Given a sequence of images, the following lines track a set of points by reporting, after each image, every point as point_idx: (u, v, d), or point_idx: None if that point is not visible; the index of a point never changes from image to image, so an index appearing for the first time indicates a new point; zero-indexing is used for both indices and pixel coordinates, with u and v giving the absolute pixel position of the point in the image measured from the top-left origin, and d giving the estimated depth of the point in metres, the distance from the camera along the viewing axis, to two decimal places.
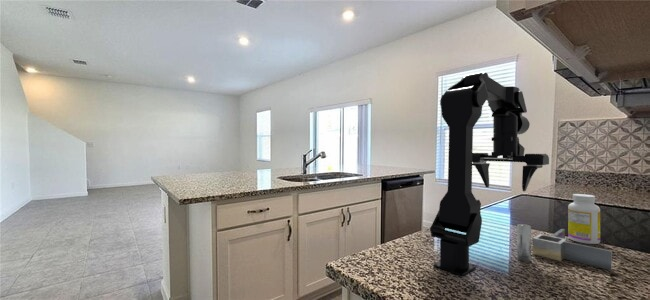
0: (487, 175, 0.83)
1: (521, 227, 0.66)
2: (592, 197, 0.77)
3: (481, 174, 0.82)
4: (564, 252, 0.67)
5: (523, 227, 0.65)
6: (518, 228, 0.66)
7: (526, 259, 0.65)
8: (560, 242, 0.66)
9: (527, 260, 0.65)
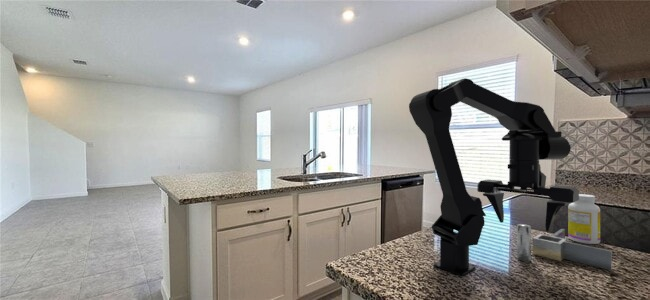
0: (501, 208, 0.70)
1: (521, 227, 0.66)
2: (592, 197, 0.77)
3: (494, 207, 0.69)
4: (564, 252, 0.67)
5: (523, 227, 0.65)
6: (518, 228, 0.66)
7: (526, 259, 0.65)
8: (560, 242, 0.66)
9: (527, 260, 0.65)
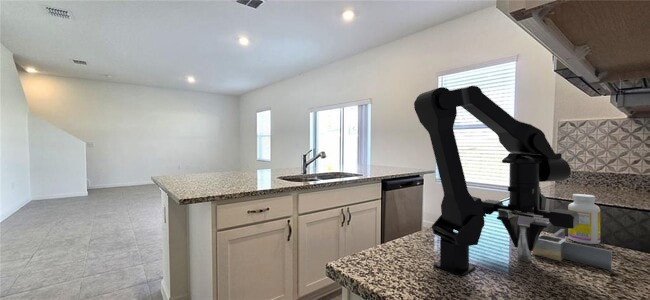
0: (516, 232, 0.68)
1: (521, 227, 0.66)
2: (592, 197, 0.77)
3: (509, 231, 0.67)
4: (564, 252, 0.67)
5: (523, 227, 0.65)
6: (518, 228, 0.66)
7: (526, 259, 0.65)
8: (560, 242, 0.66)
9: (527, 260, 0.65)
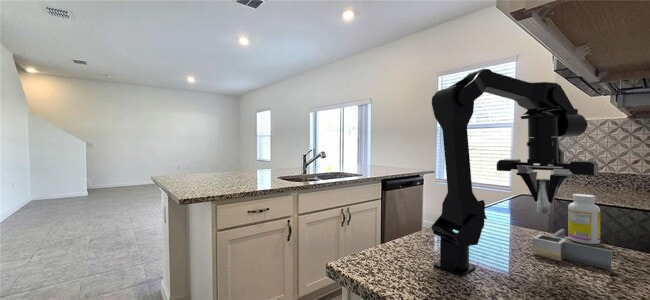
0: (535, 187, 0.69)
1: (541, 180, 0.67)
2: (592, 197, 0.77)
3: (529, 186, 0.69)
4: (564, 252, 0.67)
5: (543, 180, 0.67)
6: (538, 182, 0.68)
7: (546, 211, 0.67)
8: (560, 242, 0.66)
9: (547, 212, 0.67)
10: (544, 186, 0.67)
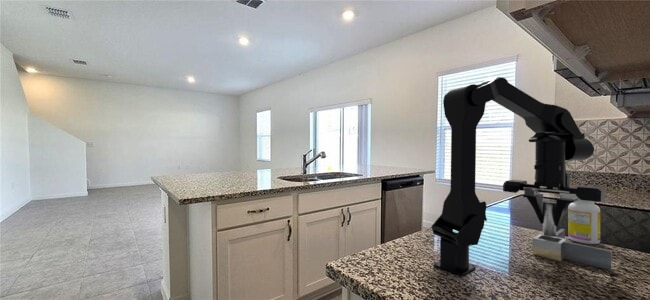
0: (541, 209, 0.70)
1: (547, 203, 0.68)
2: None
3: (535, 208, 0.70)
4: (564, 252, 0.67)
5: (549, 203, 0.68)
6: (544, 205, 0.69)
7: (552, 234, 0.68)
8: (560, 242, 0.66)
9: (553, 235, 0.68)
10: (550, 209, 0.68)
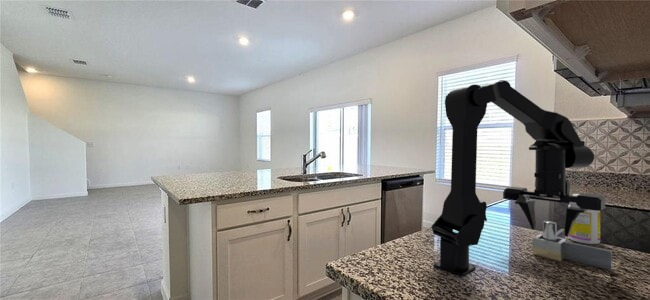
0: (533, 215, 0.72)
1: (547, 224, 0.68)
2: None
3: (527, 214, 0.71)
4: (564, 252, 0.67)
5: (549, 224, 0.68)
6: (544, 225, 0.69)
7: None
8: (560, 242, 0.66)
9: None
10: (550, 230, 0.68)
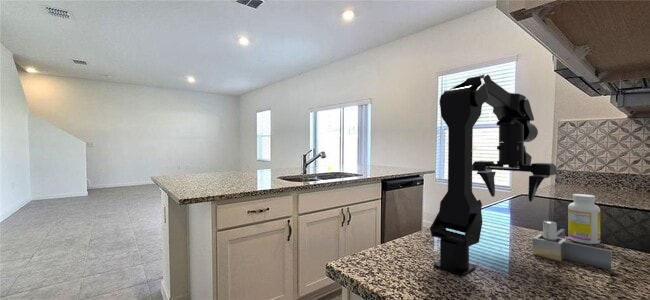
0: (492, 184, 0.82)
1: (547, 224, 0.68)
2: (592, 197, 0.77)
3: (486, 183, 0.81)
4: (564, 252, 0.67)
5: (549, 224, 0.68)
6: (544, 225, 0.69)
7: None
8: (560, 242, 0.66)
9: None
10: (550, 229, 0.68)
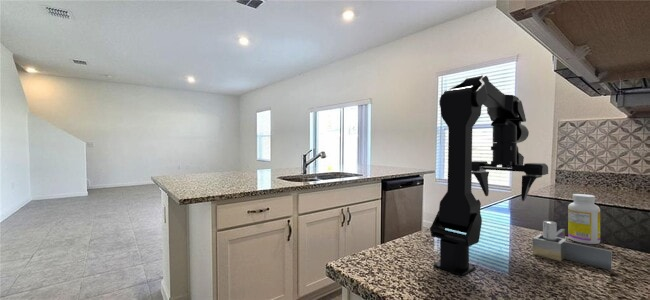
0: (486, 184, 0.83)
1: (547, 224, 0.68)
2: (592, 197, 0.77)
3: (480, 183, 0.82)
4: (564, 252, 0.67)
5: (549, 224, 0.68)
6: (544, 225, 0.69)
7: None
8: (560, 242, 0.66)
9: None
10: (550, 229, 0.68)
